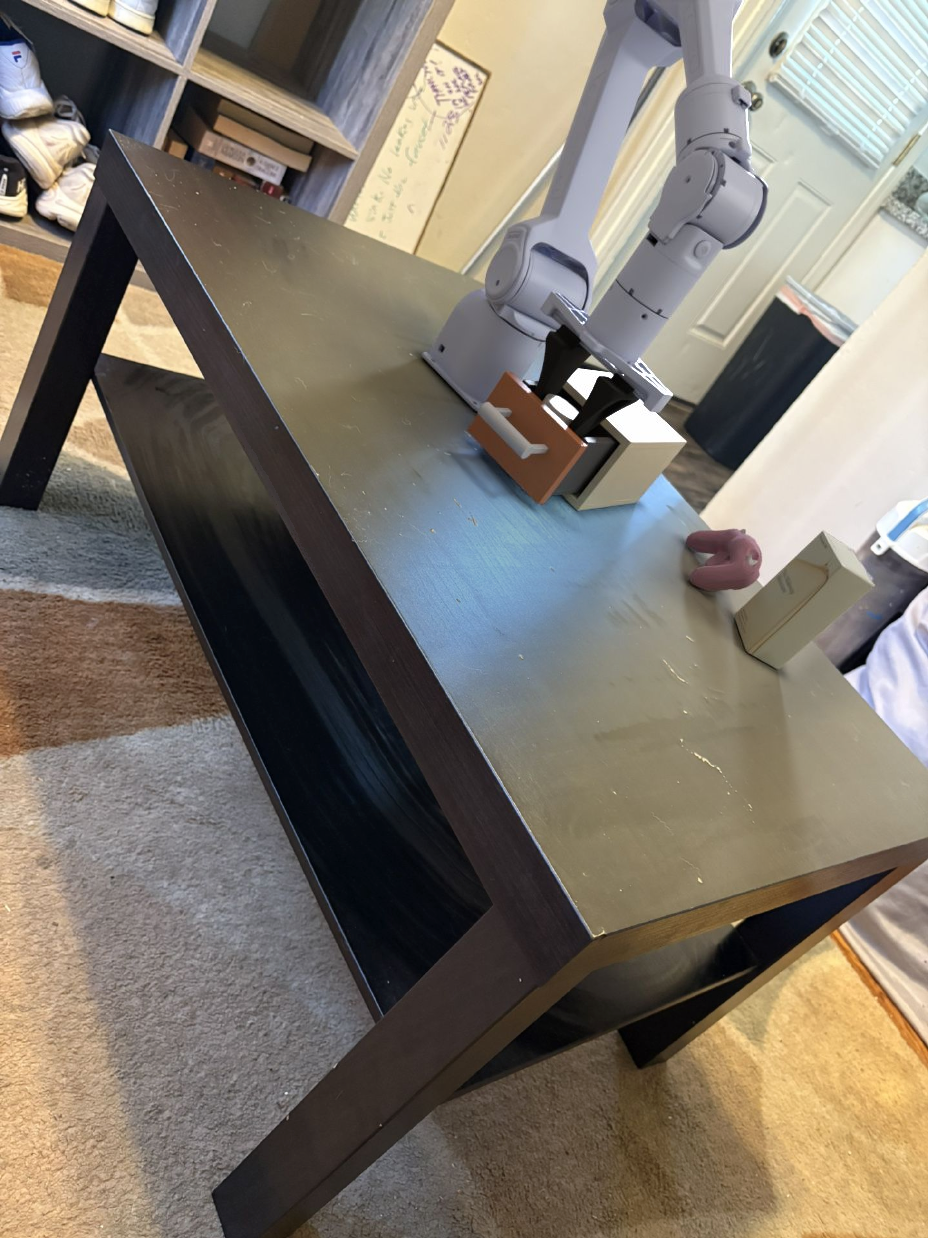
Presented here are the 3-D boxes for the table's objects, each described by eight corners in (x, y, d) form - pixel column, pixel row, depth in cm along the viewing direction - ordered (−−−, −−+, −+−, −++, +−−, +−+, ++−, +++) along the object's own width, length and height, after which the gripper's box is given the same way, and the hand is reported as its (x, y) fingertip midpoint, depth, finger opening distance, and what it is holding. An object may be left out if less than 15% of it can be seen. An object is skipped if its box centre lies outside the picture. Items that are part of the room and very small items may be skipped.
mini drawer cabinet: (577, 511, 86) (631, 442, 81) (501, 434, 89) (549, 364, 85) (636, 503, 96) (687, 441, 92) (567, 434, 100) (612, 372, 96)
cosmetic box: (731, 615, 88) (819, 526, 82) (765, 633, 90) (854, 548, 83) (746, 654, 83) (841, 563, 77) (781, 673, 84) (877, 585, 78)
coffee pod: (518, 423, 81) (539, 392, 79) (540, 423, 84) (561, 394, 82) (546, 451, 80) (568, 420, 78) (567, 451, 83) (589, 421, 81)
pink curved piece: (705, 612, 89) (772, 585, 86) (686, 577, 87) (754, 548, 85) (699, 567, 97) (760, 541, 95) (682, 534, 96) (744, 507, 93)
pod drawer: (512, 507, 76) (557, 446, 72) (439, 430, 79) (478, 367, 76) (601, 497, 89) (642, 445, 86) (534, 431, 92) (572, 378, 89)
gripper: (563, 239, 73) (477, 373, 80) (684, 347, 69) (582, 478, 76) (601, 253, 79) (518, 377, 86) (716, 354, 74) (619, 475, 81)
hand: (551, 425), depth 81 cm, fingers closed on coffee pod, 4 cm apart
